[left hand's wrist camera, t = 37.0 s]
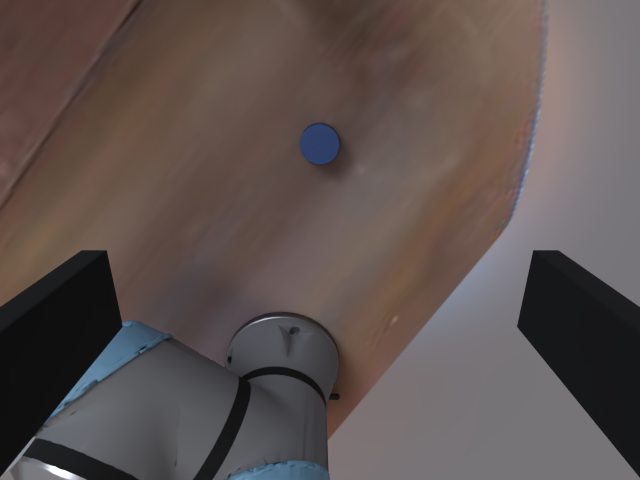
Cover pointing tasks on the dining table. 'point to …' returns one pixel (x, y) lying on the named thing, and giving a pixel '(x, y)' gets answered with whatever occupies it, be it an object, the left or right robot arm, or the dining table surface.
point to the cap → (319, 143)
